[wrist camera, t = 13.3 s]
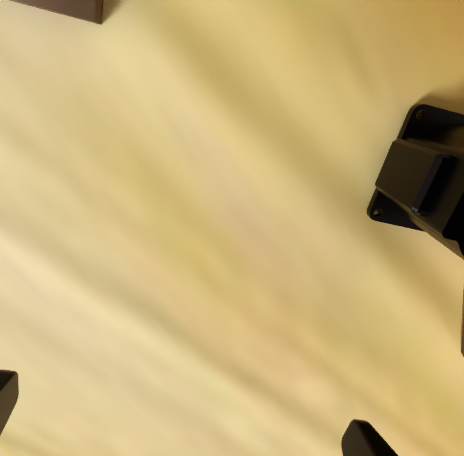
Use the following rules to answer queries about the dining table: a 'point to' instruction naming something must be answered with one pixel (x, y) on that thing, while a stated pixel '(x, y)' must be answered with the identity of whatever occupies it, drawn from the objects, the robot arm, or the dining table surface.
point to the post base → (71, 8)
